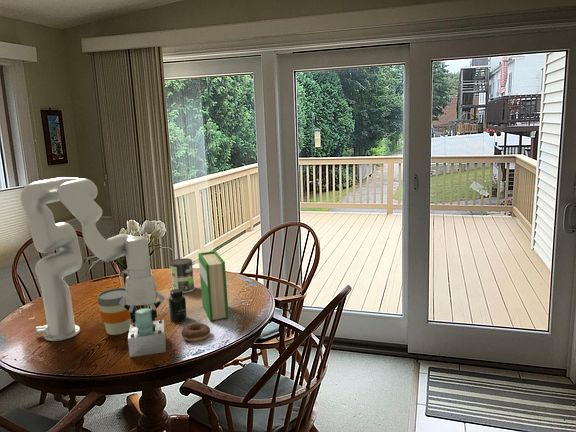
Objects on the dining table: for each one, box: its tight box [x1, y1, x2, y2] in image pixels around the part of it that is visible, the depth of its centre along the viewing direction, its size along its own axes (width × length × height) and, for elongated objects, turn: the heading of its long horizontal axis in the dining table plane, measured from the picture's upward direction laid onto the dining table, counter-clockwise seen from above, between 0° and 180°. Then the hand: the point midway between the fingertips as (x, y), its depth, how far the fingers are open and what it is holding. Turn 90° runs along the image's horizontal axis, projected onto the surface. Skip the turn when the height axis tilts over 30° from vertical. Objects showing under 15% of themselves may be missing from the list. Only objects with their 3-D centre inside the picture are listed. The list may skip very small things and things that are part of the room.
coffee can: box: [169, 257, 195, 294], centre depth 227 cm, size 10×10×14 cm
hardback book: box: [198, 250, 230, 323], centre depth 197 cm, size 18×7×24 cm, turn 20°
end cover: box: [134, 308, 154, 333], centre depth 170 cm, size 6×6×12 cm
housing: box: [127, 319, 167, 358], centre depth 171 cm, size 12×12×8 cm
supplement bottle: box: [168, 289, 188, 322], centre depth 194 cm, size 7×7×12 cm
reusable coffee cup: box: [97, 287, 132, 336], centre depth 186 cm, size 13×13×15 cm
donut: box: [180, 322, 211, 343], centre depth 178 cm, size 11×11×4 cm
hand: (144, 320), depth 170 cm, fingers closed on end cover, 6 cm apart
